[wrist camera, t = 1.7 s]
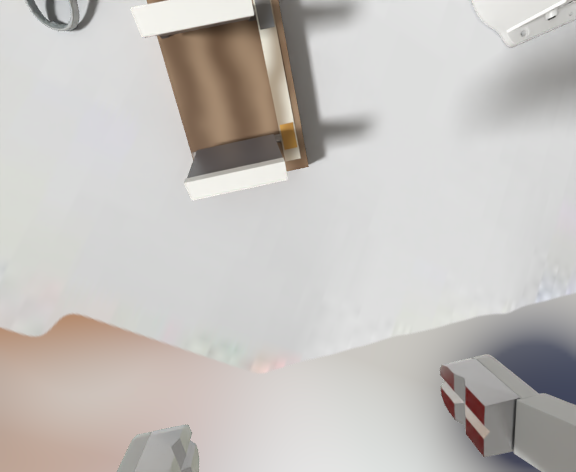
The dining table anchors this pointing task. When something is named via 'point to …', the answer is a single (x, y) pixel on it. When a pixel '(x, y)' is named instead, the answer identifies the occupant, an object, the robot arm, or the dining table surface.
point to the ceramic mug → (53, 25)
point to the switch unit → (236, 83)
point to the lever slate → (188, 15)
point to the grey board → (235, 167)
